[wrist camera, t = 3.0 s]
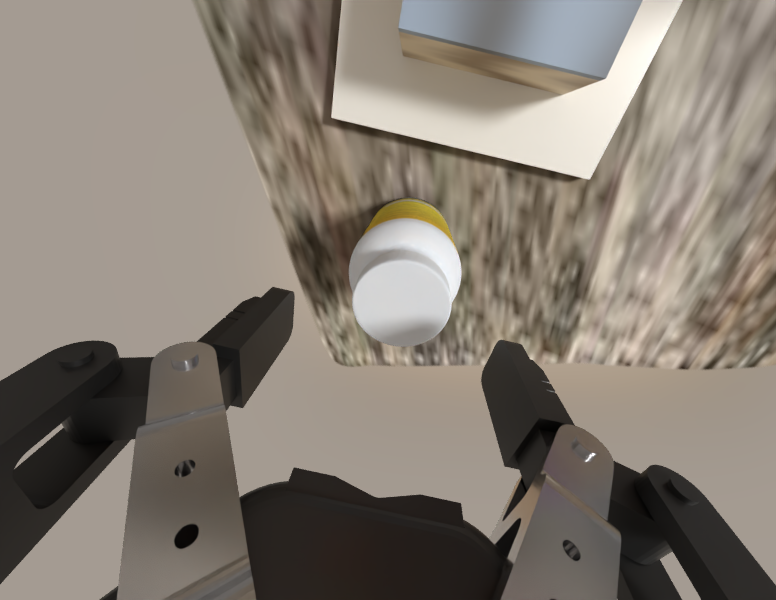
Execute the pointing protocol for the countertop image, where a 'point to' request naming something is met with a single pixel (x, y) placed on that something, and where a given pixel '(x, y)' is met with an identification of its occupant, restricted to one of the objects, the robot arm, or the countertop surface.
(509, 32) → the plinth
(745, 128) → the countertop surface
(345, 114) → the baseplate
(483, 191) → the countertop surface
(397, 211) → the pill bottle
